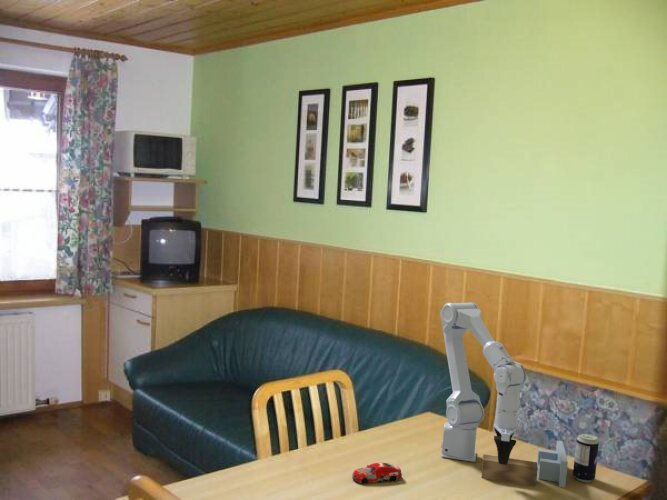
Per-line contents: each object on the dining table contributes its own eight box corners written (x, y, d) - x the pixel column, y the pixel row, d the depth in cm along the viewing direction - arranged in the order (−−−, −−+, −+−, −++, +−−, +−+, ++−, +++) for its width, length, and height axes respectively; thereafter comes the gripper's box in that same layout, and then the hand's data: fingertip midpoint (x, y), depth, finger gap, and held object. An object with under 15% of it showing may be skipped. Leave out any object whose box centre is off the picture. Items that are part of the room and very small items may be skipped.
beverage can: (596, 484, 187) (600, 441, 186) (574, 481, 188) (578, 438, 187) (592, 476, 192) (597, 434, 191) (571, 473, 193) (575, 431, 192)
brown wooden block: (481, 477, 186) (483, 459, 186) (481, 472, 190) (483, 454, 190) (535, 486, 183) (537, 467, 183) (535, 480, 187) (536, 462, 187)
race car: (355, 486, 177) (356, 471, 176) (348, 477, 182) (349, 462, 181) (404, 482, 181) (405, 467, 180) (395, 473, 186) (396, 459, 186)
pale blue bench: (539, 483, 185) (542, 458, 184) (536, 461, 201) (538, 437, 200) (565, 487, 184) (567, 461, 183) (560, 465, 199) (562, 441, 199)
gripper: (523, 419, 178) (519, 471, 179) (521, 403, 192) (517, 451, 193) (495, 415, 179) (490, 466, 180) (495, 399, 193) (491, 447, 194)
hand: (502, 458), depth 187 cm, fingers open, 7 cm apart
